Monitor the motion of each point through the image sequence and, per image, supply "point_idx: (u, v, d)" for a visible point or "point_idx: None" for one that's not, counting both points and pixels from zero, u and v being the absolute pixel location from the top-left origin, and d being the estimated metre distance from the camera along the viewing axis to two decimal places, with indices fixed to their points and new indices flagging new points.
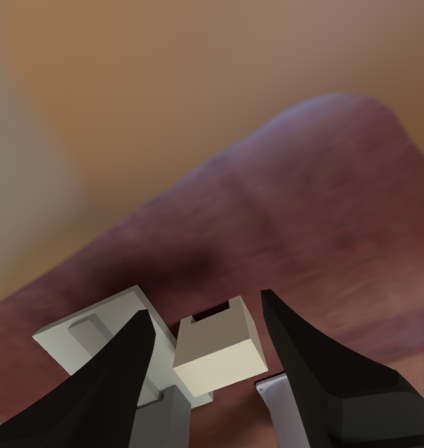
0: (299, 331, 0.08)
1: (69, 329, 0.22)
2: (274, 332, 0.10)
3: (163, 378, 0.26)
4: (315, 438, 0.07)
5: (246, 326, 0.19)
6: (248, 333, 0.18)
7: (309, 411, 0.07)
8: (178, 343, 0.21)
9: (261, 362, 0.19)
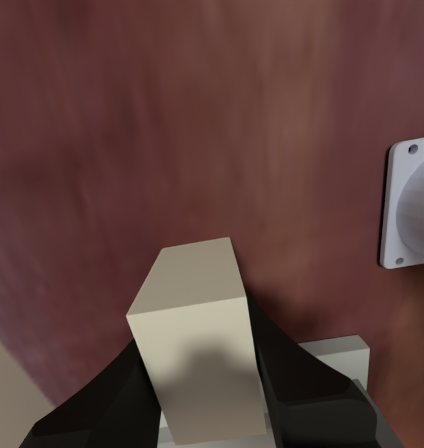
0: (268, 336, 0.08)
1: None
2: None
3: None
4: (278, 443, 0.07)
5: (139, 293, 0.09)
6: (133, 305, 0.08)
7: (272, 416, 0.07)
8: None
9: (213, 305, 0.07)
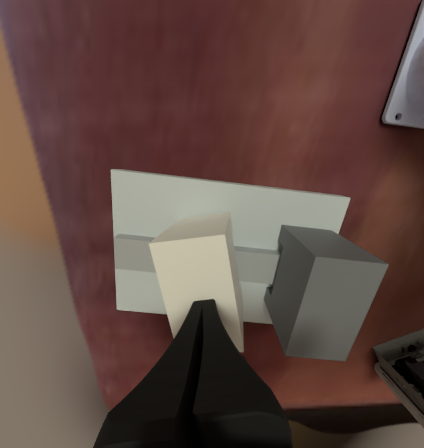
0: (214, 344, 0.08)
1: (116, 266, 0.17)
2: None
3: (261, 231, 0.17)
4: None
5: None
6: (154, 240, 0.12)
7: None
8: None
9: (203, 239, 0.11)
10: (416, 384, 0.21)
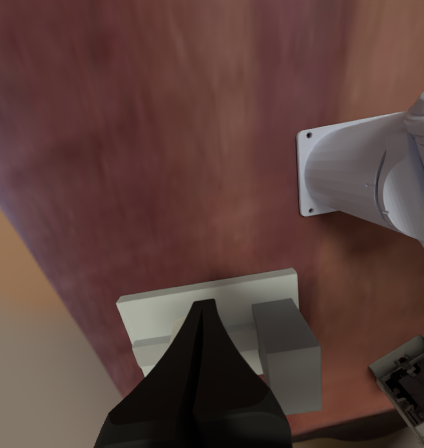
0: (214, 344, 0.08)
1: (139, 365, 0.23)
2: None
3: (238, 312, 0.22)
4: None
5: None
6: None
7: None
8: None
9: None
10: (410, 395, 0.24)
